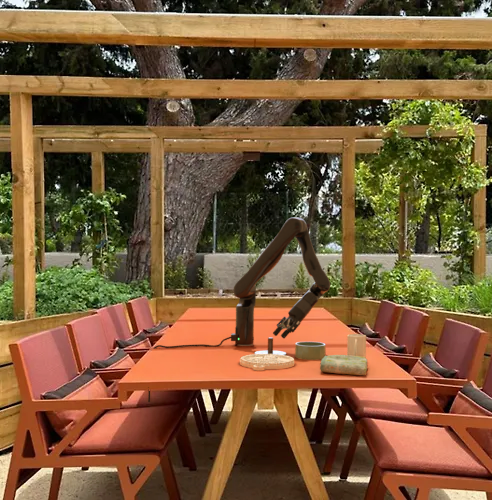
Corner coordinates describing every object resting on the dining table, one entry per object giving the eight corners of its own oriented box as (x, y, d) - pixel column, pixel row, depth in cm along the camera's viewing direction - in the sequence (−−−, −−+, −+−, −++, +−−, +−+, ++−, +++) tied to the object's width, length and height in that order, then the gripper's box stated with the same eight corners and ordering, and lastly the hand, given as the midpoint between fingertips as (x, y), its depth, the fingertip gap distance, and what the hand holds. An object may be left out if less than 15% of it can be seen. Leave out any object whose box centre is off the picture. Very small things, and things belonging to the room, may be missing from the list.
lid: (254, 357, 272) (254, 340, 272) (254, 352, 286) (254, 335, 287) (286, 358, 271) (287, 340, 271) (285, 352, 286) (285, 335, 286)
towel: (368, 366, 254) (368, 354, 254) (365, 377, 233) (366, 363, 233) (325, 364, 258) (325, 352, 258) (319, 374, 237) (319, 361, 237)
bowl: (295, 360, 266) (296, 346, 266) (294, 355, 280) (294, 341, 280) (326, 361, 266) (326, 346, 266) (323, 355, 279) (323, 341, 279)
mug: (363, 366, 254) (363, 338, 254) (343, 365, 257) (343, 337, 257) (367, 361, 265) (367, 334, 265) (348, 360, 268) (348, 333, 268)
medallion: (299, 360, 266) (299, 355, 266) (285, 372, 240) (285, 366, 240) (248, 357, 272) (249, 352, 272) (229, 368, 246) (229, 362, 246)
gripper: (288, 304, 291) (266, 328, 286) (302, 306, 278) (280, 332, 273) (298, 314, 293) (276, 339, 288) (312, 317, 280) (290, 343, 275)
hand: (278, 336), depth 281 cm, fingers open, 8 cm apart
